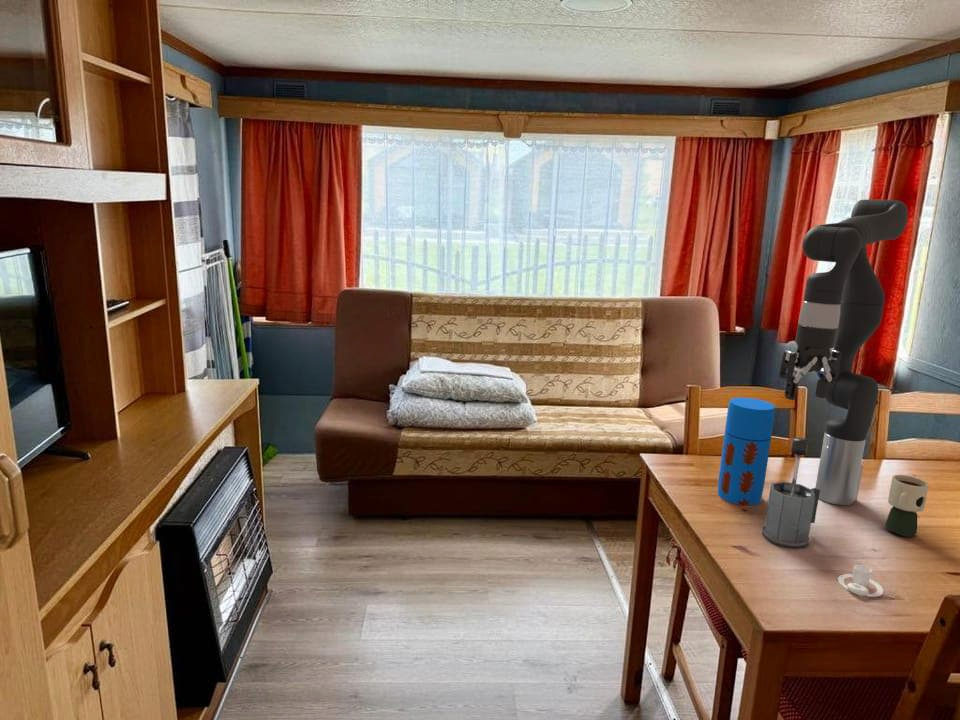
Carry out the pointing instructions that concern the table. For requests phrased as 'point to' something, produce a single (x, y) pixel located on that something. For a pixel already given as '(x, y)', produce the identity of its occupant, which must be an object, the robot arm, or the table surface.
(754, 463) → the thermos
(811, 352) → the robot arm
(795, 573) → the table surface
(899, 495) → the character mug
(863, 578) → the teacup and saucer
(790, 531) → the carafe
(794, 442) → the plunger
